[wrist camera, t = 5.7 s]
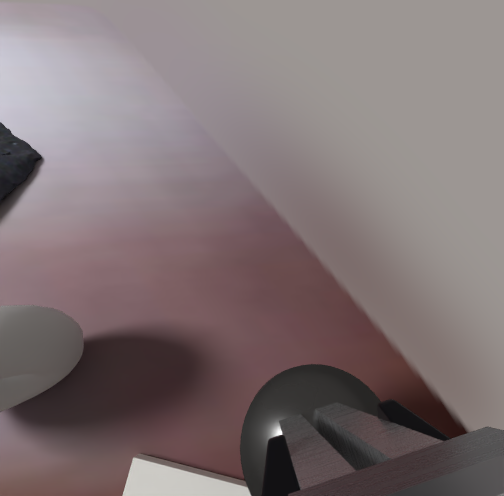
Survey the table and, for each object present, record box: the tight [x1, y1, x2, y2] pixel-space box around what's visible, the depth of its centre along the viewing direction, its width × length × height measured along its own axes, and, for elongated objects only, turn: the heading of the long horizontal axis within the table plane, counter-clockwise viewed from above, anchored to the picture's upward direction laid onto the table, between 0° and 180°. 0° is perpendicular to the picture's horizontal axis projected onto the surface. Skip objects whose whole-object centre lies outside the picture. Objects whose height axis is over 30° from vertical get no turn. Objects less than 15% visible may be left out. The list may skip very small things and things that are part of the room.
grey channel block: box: [240, 364, 504, 496], centre depth 8 cm, size 6×6×12 cm
